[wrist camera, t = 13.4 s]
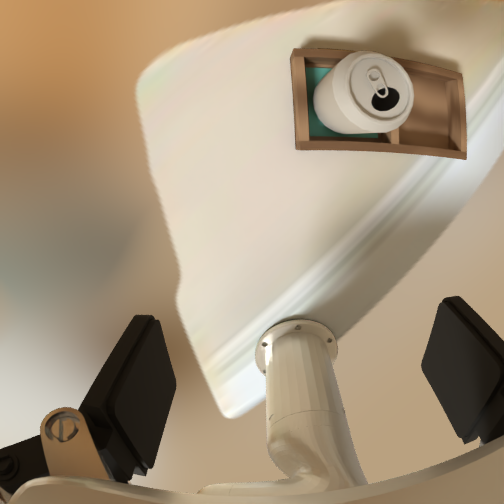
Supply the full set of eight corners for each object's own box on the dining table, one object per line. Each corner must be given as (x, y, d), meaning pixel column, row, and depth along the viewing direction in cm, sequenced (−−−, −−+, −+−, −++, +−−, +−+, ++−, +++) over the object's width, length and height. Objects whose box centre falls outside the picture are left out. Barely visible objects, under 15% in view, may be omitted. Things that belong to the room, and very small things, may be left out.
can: (334, 146, 32) (371, 149, 21) (298, 92, 30) (318, 67, 19) (383, 116, 30) (436, 109, 19) (349, 64, 28) (389, 33, 17)
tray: (449, 156, 32) (466, 159, 29) (295, 149, 33) (300, 150, 30) (445, 75, 28) (461, 71, 25) (289, 55, 29) (293, 46, 26)
